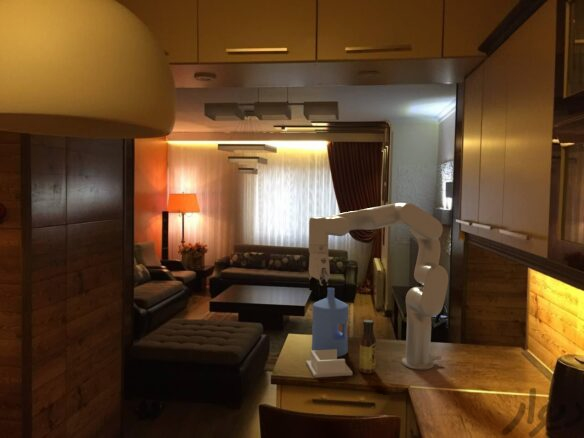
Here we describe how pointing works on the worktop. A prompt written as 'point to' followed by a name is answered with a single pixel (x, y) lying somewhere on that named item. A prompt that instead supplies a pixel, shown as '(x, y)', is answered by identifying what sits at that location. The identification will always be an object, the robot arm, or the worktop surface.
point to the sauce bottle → (367, 348)
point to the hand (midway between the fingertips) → (318, 292)
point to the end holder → (327, 364)
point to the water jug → (330, 324)
